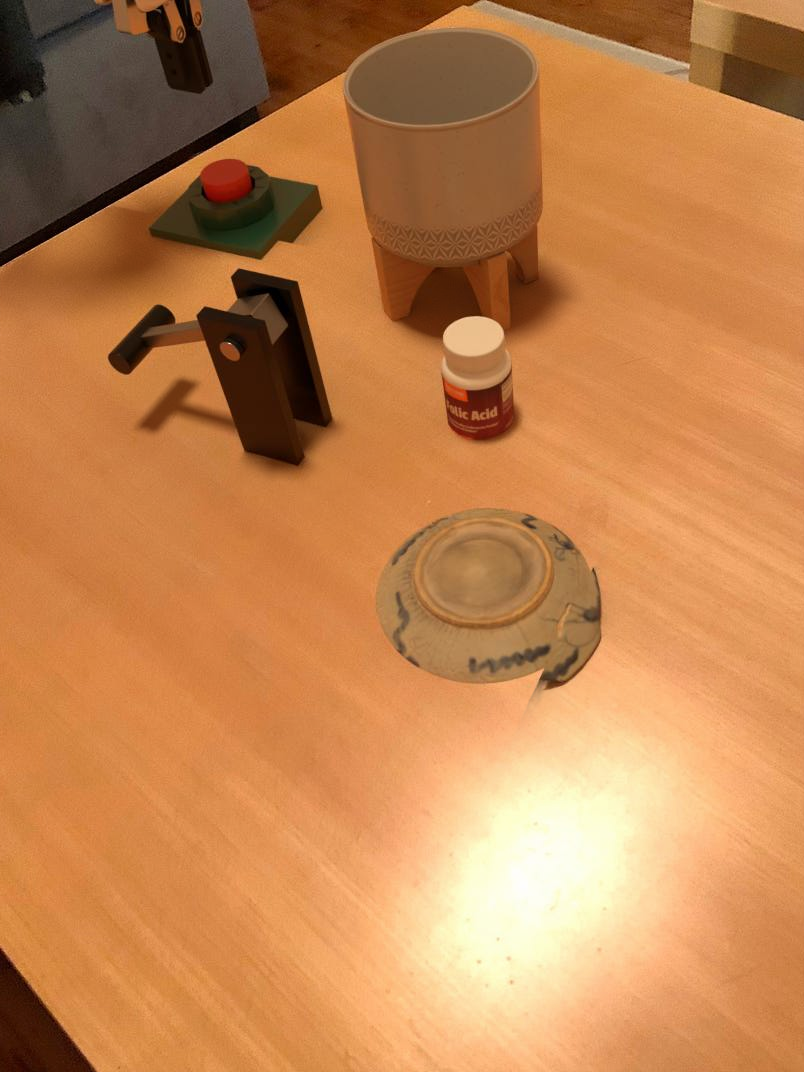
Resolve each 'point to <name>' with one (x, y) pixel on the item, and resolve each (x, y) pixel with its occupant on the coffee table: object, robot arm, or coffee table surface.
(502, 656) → the decorative bowl
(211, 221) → the button box
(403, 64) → the planter
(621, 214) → the coffee table surface
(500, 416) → the pill bottle
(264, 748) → the coffee table surface
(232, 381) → the bracket
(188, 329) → the lever
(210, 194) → the button
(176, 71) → the robot arm
